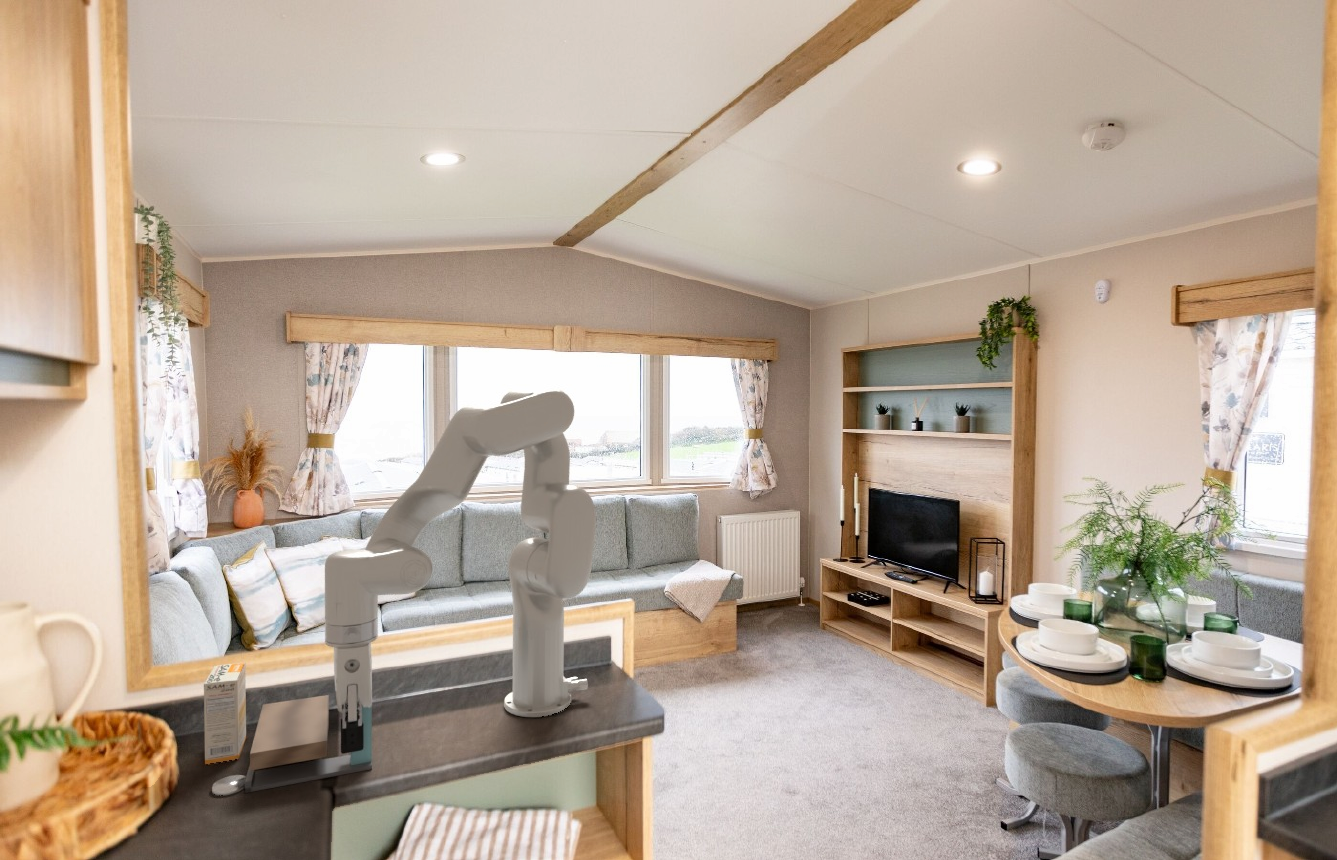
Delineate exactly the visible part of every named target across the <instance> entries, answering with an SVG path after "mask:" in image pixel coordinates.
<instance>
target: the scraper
mask: <svg viewBox="0 0 1337 860" xmlns="http://www.w3.org/2000/svg"><path fill="white" fill-rule="evenodd" d="M357 705H359V703H357ZM372 706H373V705H372ZM372 706H371V707H370V708H368V707H363V705H362V724H363V731H364V748H363V750H361V751H356V752H350V754H346V755H345V754H344V755H341V756H335V757H334V756H333V757H330V758H328V757H327V758H321V759H318V760H317V759H316V760H312V761H311V760H310V761H307V762H306V761H305V762H302V763H300V762H299V763H296V764H295V763H293V764H291V765H290V764H288V765H284V766H283V765H282V766H276V767H273V768H272V767H271V768H267V769H266V768H265V769H262V770H261V769H260V770H250V765H249V766H248V770H247V774H246V775H245V776H246V780H245V788H244V793H245V794H246V793H253V792H258V791H262V790H267V789H274V788H279V787H284V786H290V785H293V784H295V785H296V784H300V783H305V782H310V781H315V780H316V781H317V780H323V779H326V778H332V777H336V776H337V777H338V776H343V775H348V774H354V773H358V772H364V771H369V770H372V769H373V762H372V759H373V758H372V755H373V753H372V750H373V749H372V748H373V747H372V743H373V741H372V739H373V738H372V737H373V736H372V735H373V734H372V731H373V729H372V728H373V727H372V726H373V725H372V724H373V723H372V717H373V716H372V711H373V709H372ZM357 713H358V711H357Z"/></svg>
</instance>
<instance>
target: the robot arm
mask: <svg viewBox="0 0 1337 860" xmlns="http://www.w3.org/2000/svg"><path fill="white" fill-rule="evenodd" d="M574 417H575V406H574V403H573V400H572V399H571V398H570V396H569V395H568V394H567V393H565V392H564V391H563V390H560V389H559V388H554V387H553V388H552V387H551V388H550V387H546V388H545V387H542V388H538V387H537V388H535V387H532V388H527V387H526V388H525V387H524V388H517V389H512V390H510V391H508V392H507V393H506V394H504V395H503V396H502V398H501V401H500V404H495V405H491V404H490V405H486V404H485V405H481V404H480V405H477V404H475V405H468V406H464V407H462V408H460V409H459V410H457V411H456V412H455V413H454V414H453V416H452V418H451V419H450V421H449V422H448V424H447V426H446V428H445V430H444V431H443V433H442V435H441V437H440V439H439V441H437V444H436V446H435V448H434V450H433V452H432V453H431V455H430V457H429V459H428V460H427V462H426V464H425V466H424V468H423V469H422V471H421V473H420V474H419V476H418V478H417V479H416V481H414V482H413V483H412V484H411V485H410V486H409V487H408V488H407V489H406V490H405V492H403V493H402V494H401V496H400V497H398V499H396V501H394V502H393V504H392V505H391V506H390V507H389V508H388V510H386V512H385V513H384V515H383V517H381V519H380V521H379V523H378V524H377V526H376V528H375V529H374V532H373V533H372V535H371V537H370V538H369V541H368V543H367V545H366V547H365V548H364V549H346V550H339V551H335V552H333V553H330V555H329V556H328V557H326V559H325V563H324V644H325V645H326V646H327V647H330V648H333V672H334V673H333V675H334V676H333V677H334V689H335V697H336V698H335V699H336V708H337V711H338V712H339V713H342V716H341V717H342V718H340V754H343V755H345V754H349V753H350V752H356V751H361V750H363V748H364V731H363V724H362V705H363V707H368V708H370V707H371V706H373V682H372V681H373V672H372V671H373V664H372V663H373V659H372V658H373V657H372V656H373V655H372V643H373V642H375V641H376V640H377V639H378V637H379V630H378V627H379V625H378V624H379V623H378V622H379V621H378V620H379V619H378V618H379V612H378V611H379V609H378V607H379V606H378V605H379V604H378V601H379V600H378V599H379V598H378V597H379V596H388V595H389V596H390V595H391V596H392V595H395V596H396V595H398V596H399V595H408V594H409V595H410V594H413V593H416V592H419V591H420V590H421V589H423V588H425V586H427V585H428V583H429V582H430V580H431V579H432V576H433V572H434V568H433V562H432V560H431V558H430V556H428V554H427V553H426V552H425V551H423V550H421V549H420V548H418V547H414V545H415V543H416V541H417V540H418V538H419V537H420V535H421V534H422V532H423V531H424V530H425V528H426V527H427V526H428V525H429V524H430V523H431V522H432V521H433V520H435V519H436V518H438V516H440V515H442V514H444V513H446V512H448V511H450V510H452V509H454V508H456V507H458V506H459V505H461V504H462V503H463V502H464V501H465V500H466V499H467V497H468V495H469V493H470V491H471V490H472V487H473V485H474V484H475V481H476V480H477V477H478V476H479V474H480V472H481V470H482V469H483V467H484V465H485V463H486V461H487V459H488V457H489V456H494V457H501V456H506V455H510V454H514V453H517V452H520V451H522V450H523V455H524V471H523V483H522V491H521V492H522V493H521V503H520V515H521V516H520V517H521V519H522V522H523V523H524V524H525V525H526V526H527V527H528V528H530V529H533V530H535V531H538V532H540V533H544V534H545V533H546V534H548V539H547V538H543V537H529V538H526V539H523V540H522V541H520V542H518V543H517V544H516V545H515V546H514V548H513V549H512V552H511V553H510V556H509V560H508V567H507V568H508V577H509V584H510V590H511V596H512V597H511V598H512V691H511V692H509V693H508V694H507V695H506V696H505V697H504V699H503V707H504V709H505V710H506V711H507V712H508V713H509V714H511V715H513V716H519V717H522V718H523V717H524V718H541V717H542V716H544V717H549V716H553V715H552V714H554V713H557V714H559V713H561V712H563V711H565V710H566V709H565V708H567V707H568V706H569V705H571V704H572V693H573V692H575V691H584V690H589V689H588V688H589V681H588V679H587V678H584V679H578V677H577V676H573V677H569V678H566V677H565V676H564V656H565V655H564V651H565V650H564V649H565V648H564V643H565V642H564V637H565V636H564V635H565V632H564V630H565V629H564V628H565V626H564V625H565V609H564V601H563V600H565V599H569V600H570V599H573V598H575V597H577V596H579V595H580V594H581V593H582V592H583V591H584V590H585V588H586V586H587V585H588V583H589V580H590V576H591V573H592V567H593V565H592V564H593V556H594V548H595V547H594V545H595V534H596V523H597V522H596V521H597V516H596V507H595V503H594V501H593V498H592V497H591V495H590V494H589V493H588V491H586V490H585V489H583V488H582V487H580V486H577V485H573V484H570V467H571V466H570V465H571V464H570V463H571V456H570V447H569V444H568V441H567V438H566V435H565V434H564V433H565V432H566V431H567V430H568V429H569V428H570V426H571V425H572V423H573V421H574ZM357 703H359V705H357ZM570 703H571V704H570ZM569 707H570V706H569ZM569 707H568V708H569ZM564 709H565V710H564ZM562 710H563V711H562ZM357 711H358V713H357ZM560 711H561V712H560ZM558 712H559V713H558ZM548 715H549V716H548ZM554 715H555V714H554Z"/></svg>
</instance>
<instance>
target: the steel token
mask: <svg viewBox="0 0 1337 860" xmlns="http://www.w3.org/2000/svg"><path fill="white" fill-rule="evenodd" d="M246 776H247V775H243V774H234V775H228V776H226V777H223V778H220V779H218V780H216V781H214V783H213V784H212V786H211V793H212V794H213V795H214V794H215V795H214V796H219V795H220V796H221V795H223V796H229V795H233V794H236V793H238V792H240V791H242V790H243V789H244V790H245V780H246ZM220 796H219V797H220ZM221 797H222V796H221Z"/></svg>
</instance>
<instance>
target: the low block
mask: <svg viewBox="0 0 1337 860" xmlns="http://www.w3.org/2000/svg"><path fill="white" fill-rule="evenodd" d="M329 696H330V694H328V695H327V694H326V695H319V696H313V697H312V696H311V697H306V698H298V699H291V700H285V701H278V702H270V703H263V704H262V707H261V710H260V714H259V718H258V721H257V726H256V729H255V733H254V737H253V741H252V745H251V748H250V753H249V766H250V770H255V771H257V770H261V769H262V770H263V769H266V768H267V769H268V768H272V767H273V768H274V767H280V766H283V765H284V766H285V765H290V764H295V763H296V764H297V763H300V762H306V761H307V762H308V761H311V760H312V761H313V760H317V759H318V760H319V759H325V758H328V756H327V755H328V752H327V751H328V748H327V747H328V735H329V734H328V733H329V726H330V724H329V723H330V721H329V717H330V715H329V714H330V712H329V709H330V708H329V702H330V701H329V698H330V697H329Z"/></svg>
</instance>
